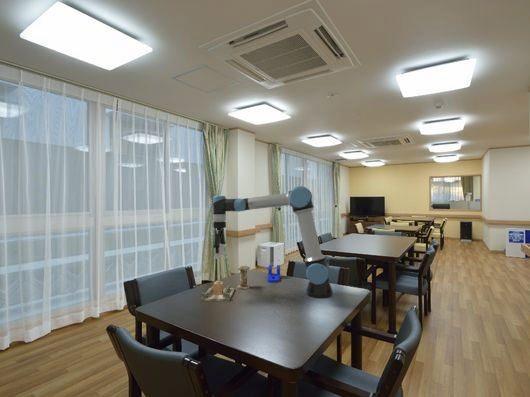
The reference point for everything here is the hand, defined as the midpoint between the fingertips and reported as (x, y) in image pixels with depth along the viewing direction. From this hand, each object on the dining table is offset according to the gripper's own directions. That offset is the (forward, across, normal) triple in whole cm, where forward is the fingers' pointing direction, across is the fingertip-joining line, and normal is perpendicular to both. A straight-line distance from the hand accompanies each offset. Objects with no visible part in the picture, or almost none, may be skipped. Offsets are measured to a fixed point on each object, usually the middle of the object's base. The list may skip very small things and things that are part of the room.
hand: (220, 256), depth 171 cm
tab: (+22, +1, -1) cm, 22 cm away
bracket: (+23, -34, +32) cm, 52 cm away
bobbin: (+23, -14, +12) cm, 29 cm away
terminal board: (+23, +1, -1) cm, 23 cm away
